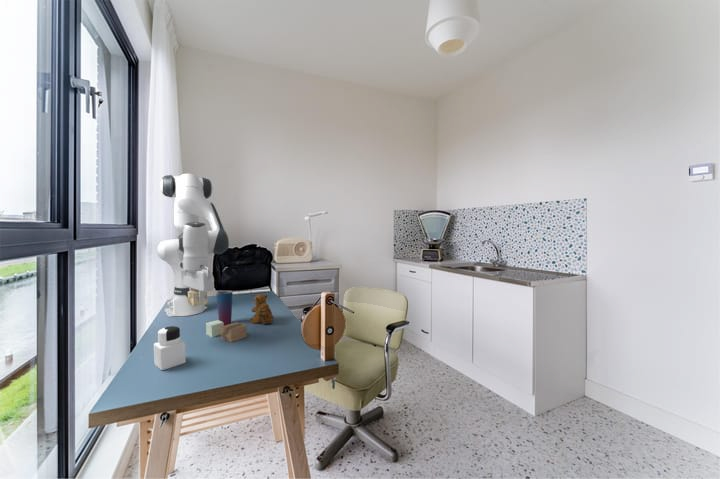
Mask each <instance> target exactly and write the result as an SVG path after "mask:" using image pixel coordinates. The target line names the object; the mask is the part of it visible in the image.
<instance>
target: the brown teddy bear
mask: <svg viewBox="0 0 720 479" xmlns="http://www.w3.org/2000/svg"><path fill="white" fill-rule="evenodd" d="M267 298H268V294H267V293H266V294H263V293H260V294H257V295H255V297H254V298H253V300H252V301H251V303H254V304H255V306H254V307H251V312H252V313H255V314H254V315H253V316H252V318H249V322H250V323H251V324H262V325H269V324H272V322H273V321H274V314H273V312H272V310H271V309H272V308H270V305H269V303H267Z"/></svg>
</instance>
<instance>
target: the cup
mask: <svg viewBox="0 0 720 479" xmlns="http://www.w3.org/2000/svg"><path fill="white" fill-rule="evenodd" d="M233 292H234V291H232V290H220V291H217V292H216V293H215V294H216V302H217V314H218V320H219V321H221V322H224V326H225V325H229V324H232V314H233V313H232V311H233V310H232V309H233Z"/></svg>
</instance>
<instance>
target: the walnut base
mask: <svg viewBox="0 0 720 479" xmlns="http://www.w3.org/2000/svg"><path fill="white" fill-rule="evenodd" d="M247 334H248V326H247V325H246V324H245V323H244V324H243V323H240V322H238V321H236V322H231V324H229V325H225V326H222V327H221V335H220V339H221V340H225V341H227V342H230V343H233V342H236V341H238V340H242V339H244V338H247V337H248V335H247Z"/></svg>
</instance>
